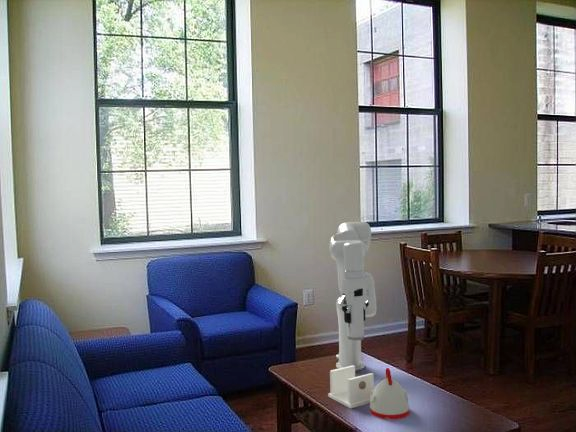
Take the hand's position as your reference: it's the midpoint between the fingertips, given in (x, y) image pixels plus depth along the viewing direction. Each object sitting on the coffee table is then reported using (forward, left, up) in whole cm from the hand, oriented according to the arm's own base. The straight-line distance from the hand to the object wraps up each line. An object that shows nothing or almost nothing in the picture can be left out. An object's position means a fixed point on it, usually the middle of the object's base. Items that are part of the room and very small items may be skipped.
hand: (355, 321), depth 218 cm
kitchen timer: (+20, -1, -29) cm, 35 cm away
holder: (+3, -5, -28) cm, 29 cm away
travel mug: (0, 0, -7) cm, 7 cm away
